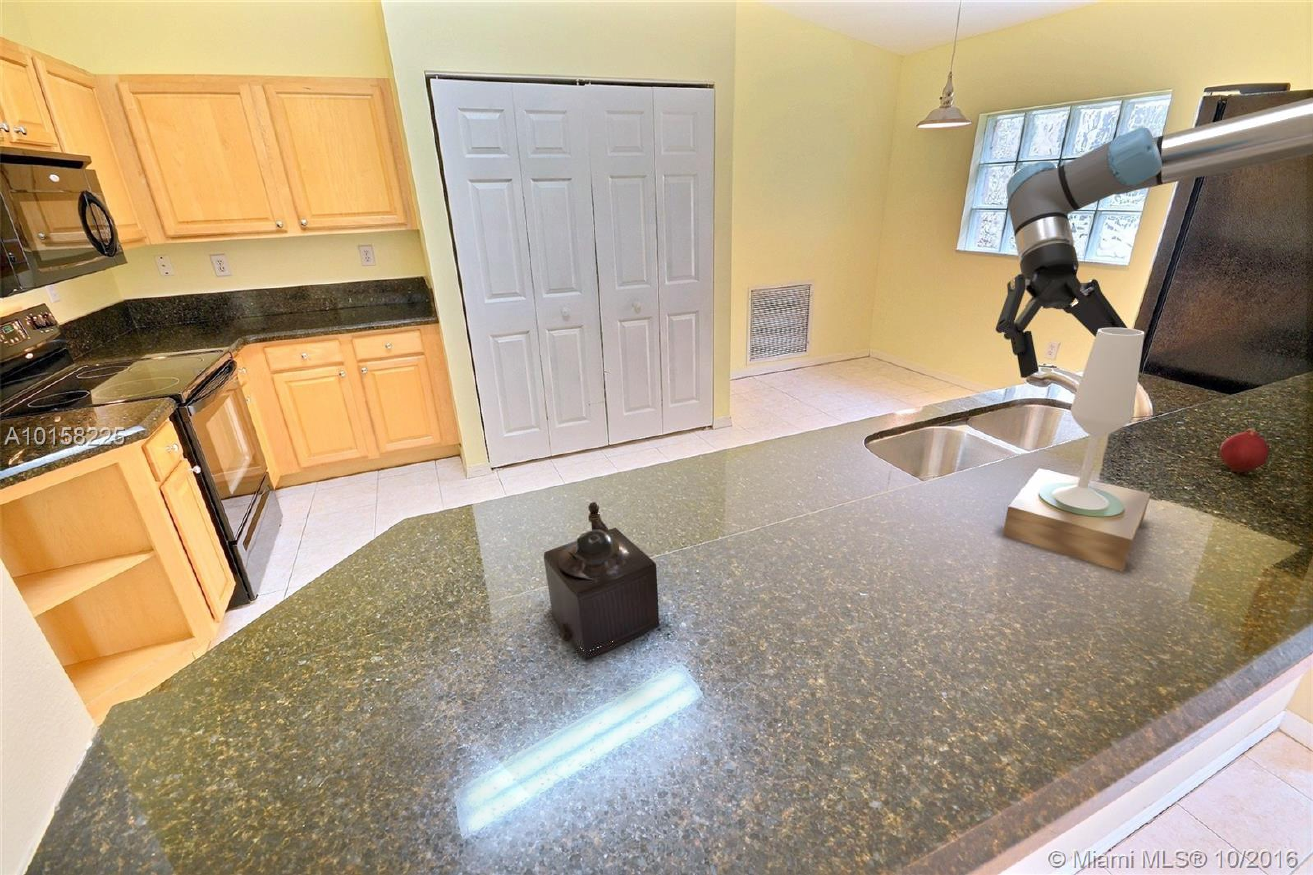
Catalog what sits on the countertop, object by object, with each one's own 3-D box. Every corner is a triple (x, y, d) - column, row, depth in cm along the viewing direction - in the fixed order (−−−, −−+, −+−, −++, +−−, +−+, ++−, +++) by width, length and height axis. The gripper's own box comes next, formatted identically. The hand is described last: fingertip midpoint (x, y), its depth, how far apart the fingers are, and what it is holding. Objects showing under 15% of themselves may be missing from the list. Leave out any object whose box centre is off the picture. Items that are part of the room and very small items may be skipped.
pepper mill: (545, 616, 73) (524, 490, 66) (621, 584, 78) (609, 464, 72) (600, 695, 61) (581, 549, 54) (686, 651, 66) (679, 513, 59)
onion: (1215, 462, 101) (1229, 419, 98) (1261, 471, 97) (1277, 426, 94) (1212, 473, 98) (1226, 429, 95) (1260, 483, 94) (1276, 437, 91)
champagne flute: (1117, 499, 81) (1163, 330, 72) (1096, 514, 78) (1142, 339, 69) (1064, 483, 87) (1101, 324, 78) (1043, 497, 83) (1078, 332, 74)
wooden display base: (1142, 523, 85) (1151, 492, 83) (1122, 573, 74) (1132, 538, 72) (1033, 495, 94) (1039, 467, 92) (1002, 536, 84) (1008, 504, 82)
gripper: (1098, 272, 98) (1125, 389, 92) (959, 262, 95) (978, 381, 89) (1137, 245, 91) (1170, 370, 85) (988, 234, 88) (1011, 362, 82)
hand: (1071, 376), depth 87 cm, fingers open, 13 cm apart
